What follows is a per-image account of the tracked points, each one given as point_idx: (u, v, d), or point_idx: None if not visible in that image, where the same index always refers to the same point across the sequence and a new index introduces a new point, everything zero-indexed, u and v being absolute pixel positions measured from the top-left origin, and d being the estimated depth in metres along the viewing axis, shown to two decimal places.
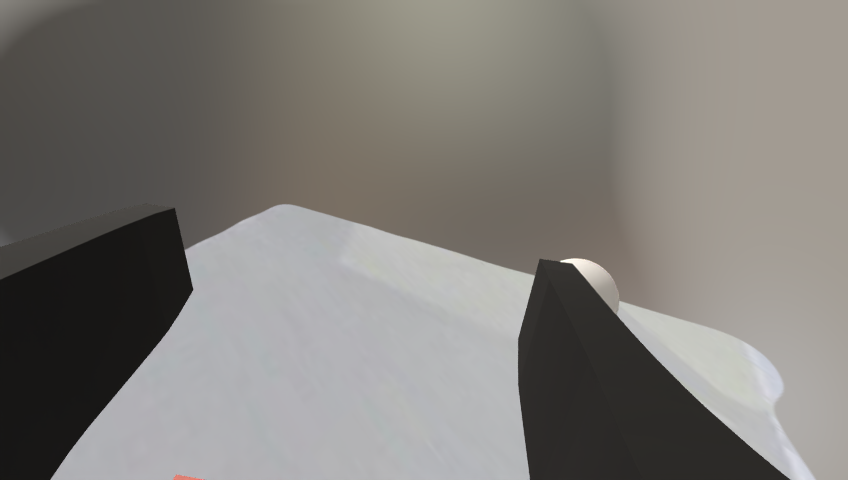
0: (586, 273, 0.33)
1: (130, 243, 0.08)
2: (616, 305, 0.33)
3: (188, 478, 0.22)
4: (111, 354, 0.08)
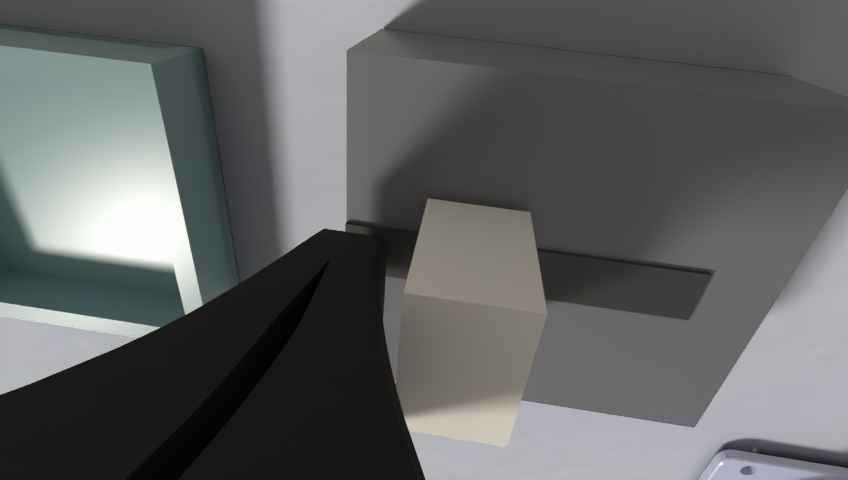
0: None
1: None
2: None
3: None
4: None
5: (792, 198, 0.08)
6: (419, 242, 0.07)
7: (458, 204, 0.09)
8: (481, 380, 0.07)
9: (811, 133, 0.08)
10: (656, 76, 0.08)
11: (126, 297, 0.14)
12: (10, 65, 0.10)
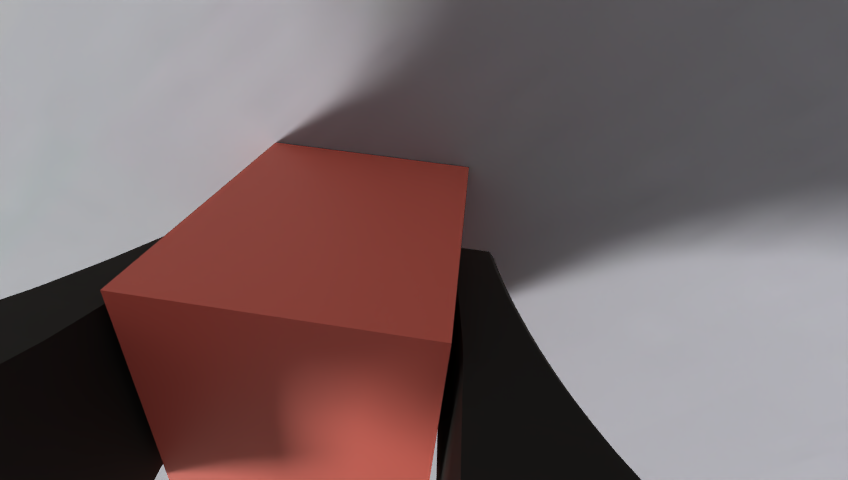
0: None
1: None
2: None
3: (168, 464, 0.07)
4: None
5: None
6: None
7: None
8: None
9: None
10: None
11: None
12: None
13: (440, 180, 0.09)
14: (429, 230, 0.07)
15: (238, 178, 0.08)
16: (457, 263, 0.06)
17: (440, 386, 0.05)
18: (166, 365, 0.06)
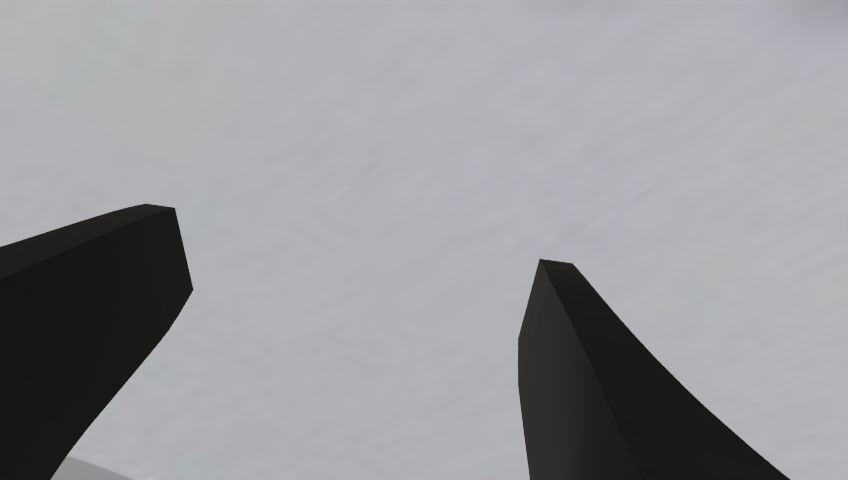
0: None
1: (130, 243, 0.08)
2: None
3: None
4: (110, 354, 0.08)
5: None
6: None
7: None
8: None
9: None
10: None
11: None
12: None
13: None
14: None
15: None
16: None
17: None
18: None
